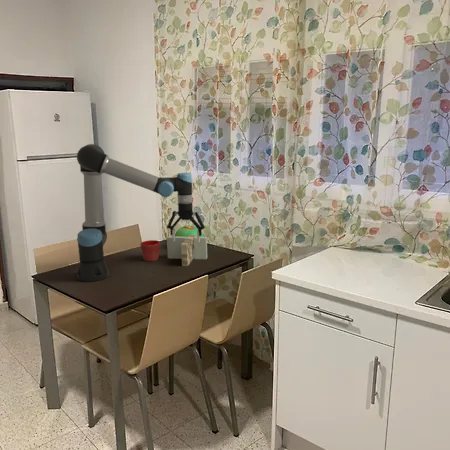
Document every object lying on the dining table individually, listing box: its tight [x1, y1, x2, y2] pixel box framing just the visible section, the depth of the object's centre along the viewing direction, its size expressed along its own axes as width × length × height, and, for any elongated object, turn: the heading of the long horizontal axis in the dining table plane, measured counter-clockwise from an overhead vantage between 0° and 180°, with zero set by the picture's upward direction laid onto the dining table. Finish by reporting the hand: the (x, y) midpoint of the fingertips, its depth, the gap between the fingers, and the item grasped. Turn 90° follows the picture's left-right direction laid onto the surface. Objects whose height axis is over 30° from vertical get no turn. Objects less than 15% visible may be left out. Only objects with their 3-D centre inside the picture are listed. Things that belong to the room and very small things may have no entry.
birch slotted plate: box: [181, 235, 195, 267], centre depth 251 cm, size 20×3×12 cm, turn 171°
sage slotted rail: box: [166, 235, 208, 260], centre depth 255 cm, size 22×3×12 cm, turn 81°
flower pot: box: [140, 239, 161, 262], centre depth 255 cm, size 11×11×10 cm
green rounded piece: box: [175, 224, 208, 237], centre depth 273 cm, size 18×17×15 cm
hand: (186, 241), depth 246 cm, fingers open, 13 cm apart
